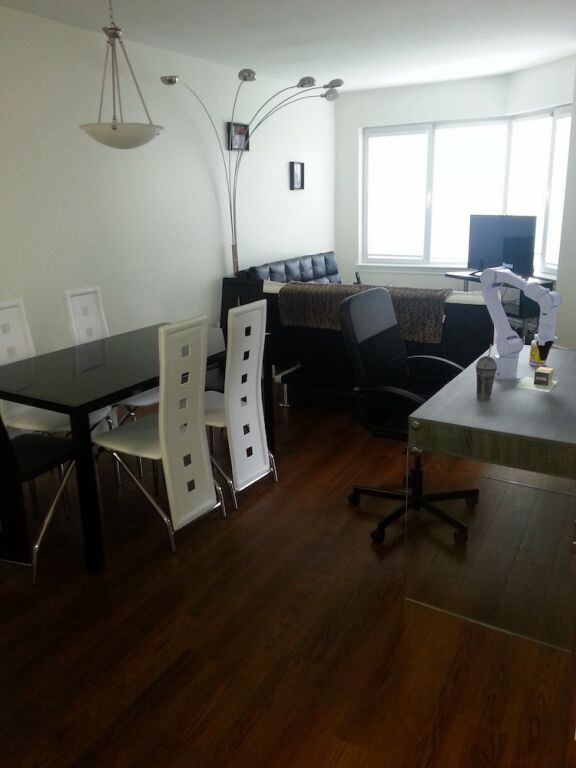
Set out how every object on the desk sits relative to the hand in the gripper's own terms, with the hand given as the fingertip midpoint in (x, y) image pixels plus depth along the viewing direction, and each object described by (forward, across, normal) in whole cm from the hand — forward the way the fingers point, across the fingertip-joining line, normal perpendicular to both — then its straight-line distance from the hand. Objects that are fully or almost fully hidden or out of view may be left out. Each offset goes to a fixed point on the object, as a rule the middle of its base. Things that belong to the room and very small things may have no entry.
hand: (543, 360), depth 231 cm
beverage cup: (+10, -27, +14) cm, 32 cm away
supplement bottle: (+10, +30, +7) cm, 33 cm away
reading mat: (+10, 0, +1) cm, 10 cm away
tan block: (+7, -1, 0) cm, 7 cm away
